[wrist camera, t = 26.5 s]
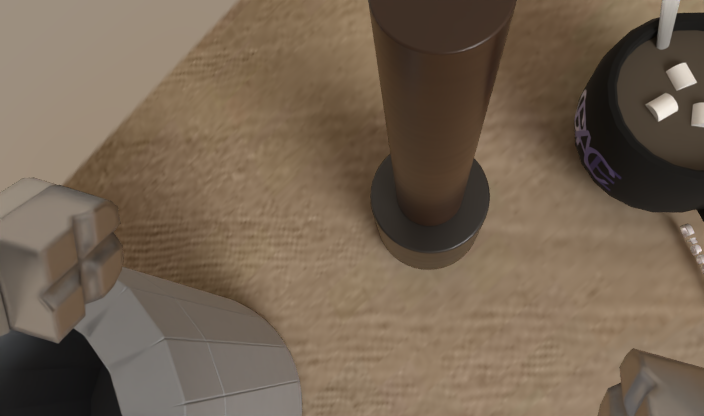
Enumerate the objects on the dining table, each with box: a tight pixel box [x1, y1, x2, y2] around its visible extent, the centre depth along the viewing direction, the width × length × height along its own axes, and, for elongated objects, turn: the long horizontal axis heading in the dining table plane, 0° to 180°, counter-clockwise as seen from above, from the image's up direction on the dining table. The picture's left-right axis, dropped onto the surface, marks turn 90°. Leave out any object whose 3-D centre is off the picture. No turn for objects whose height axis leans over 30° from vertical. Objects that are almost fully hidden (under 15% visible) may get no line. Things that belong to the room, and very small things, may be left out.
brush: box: [368, 0, 517, 270], centre depth 17 cm, size 4×4×16 cm
